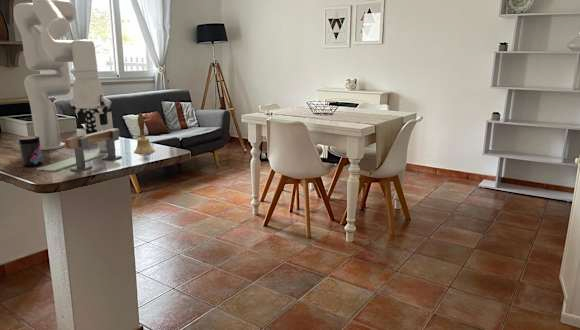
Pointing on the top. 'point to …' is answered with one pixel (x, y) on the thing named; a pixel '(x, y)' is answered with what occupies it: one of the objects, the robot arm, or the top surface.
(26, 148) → the supplement container
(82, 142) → the rack
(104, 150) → the travel mug
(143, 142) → the hand bell
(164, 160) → the top surface
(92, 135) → the rail
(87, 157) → the mat
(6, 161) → the top surface
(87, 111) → the white-spotted black cylinder
